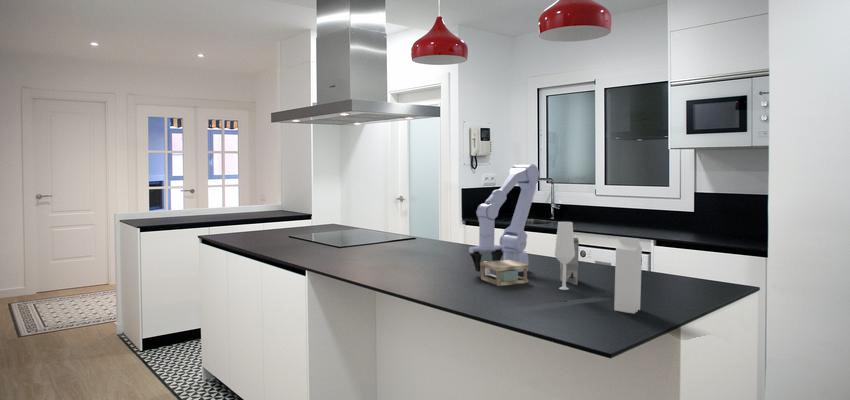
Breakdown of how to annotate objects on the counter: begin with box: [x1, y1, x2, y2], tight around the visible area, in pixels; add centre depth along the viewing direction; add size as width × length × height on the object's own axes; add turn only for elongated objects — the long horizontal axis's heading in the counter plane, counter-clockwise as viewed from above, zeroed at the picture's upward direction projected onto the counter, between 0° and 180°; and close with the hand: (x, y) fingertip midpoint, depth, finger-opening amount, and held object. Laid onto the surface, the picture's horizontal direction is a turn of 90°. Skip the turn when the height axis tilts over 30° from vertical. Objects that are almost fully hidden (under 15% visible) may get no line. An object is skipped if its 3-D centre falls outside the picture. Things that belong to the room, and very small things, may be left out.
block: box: [482, 260, 519, 282], centre depth 212 cm, size 6×18×5 cm, turn 26°
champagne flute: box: [554, 221, 575, 291], centre depth 195 cm, size 7×7×24 cm
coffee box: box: [559, 237, 580, 286], centre depth 211 cm, size 9×6×16 cm
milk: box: [613, 236, 643, 314], centre depth 172 cm, size 6×6×22 cm
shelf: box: [480, 259, 530, 287], centre depth 211 cm, size 13×20×8 cm, turn 26°
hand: (486, 270), depth 218 cm, fingers open, 7 cm apart
